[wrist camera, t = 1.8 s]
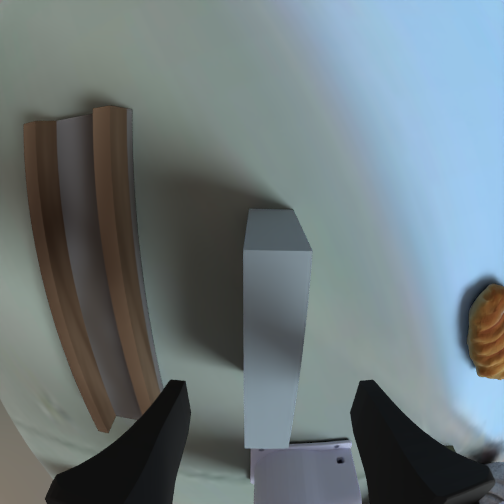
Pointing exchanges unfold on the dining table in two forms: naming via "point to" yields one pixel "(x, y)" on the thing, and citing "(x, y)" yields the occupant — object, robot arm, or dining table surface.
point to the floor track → (93, 258)
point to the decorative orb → (500, 490)
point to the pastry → (487, 332)
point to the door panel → (273, 323)
